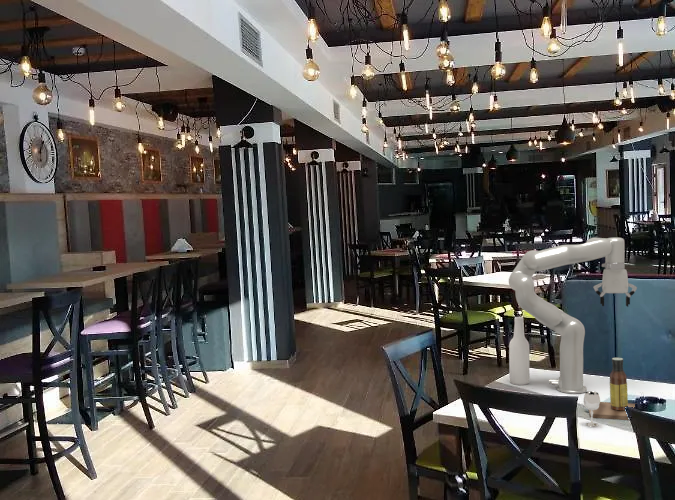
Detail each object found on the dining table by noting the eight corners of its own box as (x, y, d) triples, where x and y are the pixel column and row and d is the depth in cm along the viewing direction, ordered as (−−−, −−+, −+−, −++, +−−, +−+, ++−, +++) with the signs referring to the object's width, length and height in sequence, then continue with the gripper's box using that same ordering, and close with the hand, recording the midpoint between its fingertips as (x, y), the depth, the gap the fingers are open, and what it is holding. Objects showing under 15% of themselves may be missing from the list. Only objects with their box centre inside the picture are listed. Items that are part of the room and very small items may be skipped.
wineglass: (580, 422, 248) (580, 391, 247) (595, 421, 249) (595, 390, 248) (587, 427, 243) (587, 395, 242) (603, 427, 243) (603, 394, 242)
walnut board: (590, 417, 253) (590, 413, 253) (587, 404, 269) (587, 401, 268) (647, 421, 248) (647, 417, 247) (641, 407, 263) (641, 404, 263)
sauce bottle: (627, 407, 260) (627, 357, 258) (628, 412, 254) (628, 361, 252) (609, 405, 262) (609, 356, 260) (610, 410, 256) (610, 360, 254)
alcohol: (509, 385, 299) (509, 319, 296) (509, 379, 307) (508, 315, 305) (530, 385, 297) (529, 319, 294) (528, 380, 305) (528, 315, 303)
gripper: (593, 267, 284) (594, 307, 285) (638, 267, 279) (637, 307, 280) (592, 265, 291) (593, 304, 292) (635, 265, 286) (635, 304, 287)
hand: (614, 305), depth 286 cm, fingers open, 9 cm apart
